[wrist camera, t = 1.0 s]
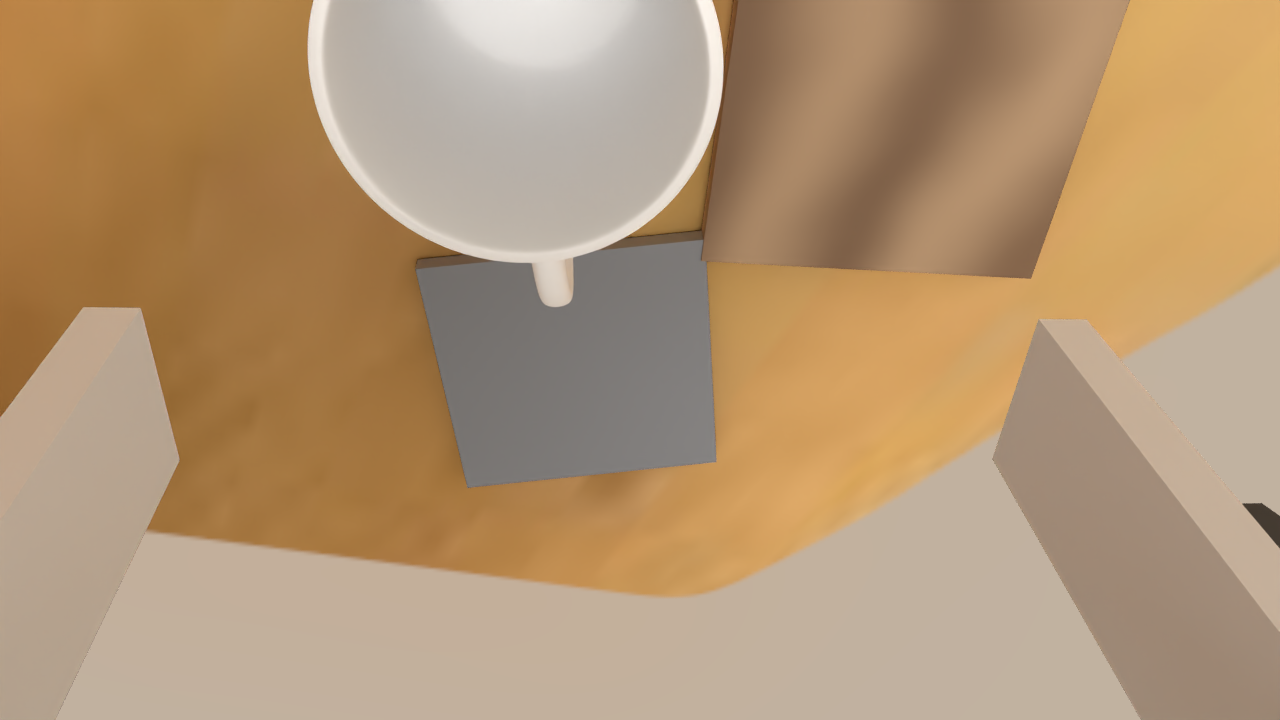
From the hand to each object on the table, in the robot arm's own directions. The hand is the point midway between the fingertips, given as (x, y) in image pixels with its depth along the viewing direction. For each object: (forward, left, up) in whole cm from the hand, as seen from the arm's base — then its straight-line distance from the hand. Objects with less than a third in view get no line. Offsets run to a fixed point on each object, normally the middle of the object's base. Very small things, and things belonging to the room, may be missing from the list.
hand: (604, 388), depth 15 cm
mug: (-2, +1, -19) cm, 19 cm away
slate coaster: (0, -12, -19) cm, 23 cm away
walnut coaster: (+10, -1, -19) cm, 22 cm away
